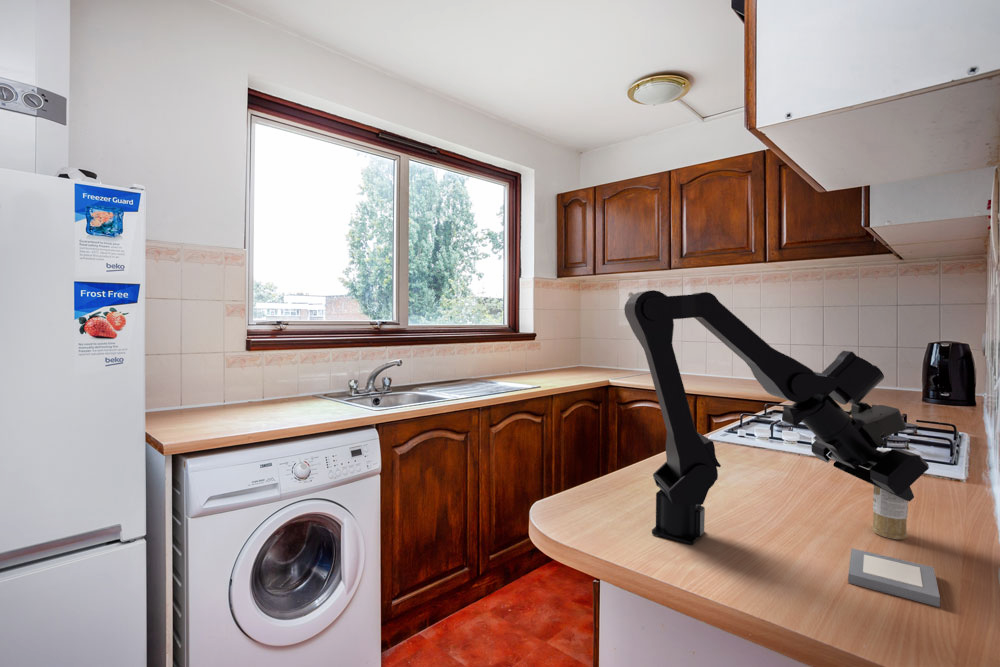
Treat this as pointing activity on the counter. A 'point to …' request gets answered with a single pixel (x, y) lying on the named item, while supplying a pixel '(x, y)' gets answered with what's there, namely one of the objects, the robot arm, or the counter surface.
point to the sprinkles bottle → (889, 512)
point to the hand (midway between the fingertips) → (899, 493)
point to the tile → (894, 576)
